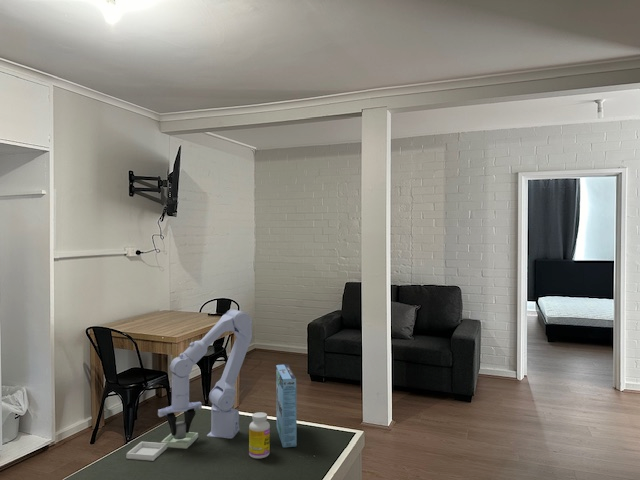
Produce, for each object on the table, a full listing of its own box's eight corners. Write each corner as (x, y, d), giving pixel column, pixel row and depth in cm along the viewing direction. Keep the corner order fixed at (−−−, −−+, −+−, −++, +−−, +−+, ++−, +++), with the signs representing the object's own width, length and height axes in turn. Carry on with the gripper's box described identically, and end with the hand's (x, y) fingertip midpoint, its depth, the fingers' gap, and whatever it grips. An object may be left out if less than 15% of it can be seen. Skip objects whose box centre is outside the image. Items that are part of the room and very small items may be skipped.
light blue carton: (296, 447, 160) (297, 378, 160) (281, 448, 159) (282, 379, 159) (288, 425, 179) (289, 363, 179) (275, 426, 178) (275, 364, 178)
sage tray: (197, 438, 166) (198, 432, 166) (186, 449, 157) (186, 443, 157) (173, 436, 167) (173, 431, 167) (161, 447, 158) (161, 441, 158)
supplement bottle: (265, 460, 150) (266, 419, 150) (245, 458, 151) (246, 417, 151) (272, 451, 156) (272, 412, 156) (253, 449, 157) (253, 410, 158)
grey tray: (166, 449, 157) (166, 443, 157) (153, 461, 148) (153, 455, 148) (141, 447, 158) (141, 441, 158) (126, 459, 149) (126, 453, 149)
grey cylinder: (188, 435, 164) (188, 421, 164) (182, 439, 160) (183, 426, 160) (177, 434, 164) (177, 420, 164) (171, 439, 160) (171, 425, 160)
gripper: (162, 400, 155) (162, 442, 154) (205, 392, 163) (205, 432, 163) (156, 394, 160) (155, 435, 160) (197, 387, 169) (197, 425, 169)
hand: (180, 433), depth 162 cm, fingers closed on grey cylinder, 4 cm apart
